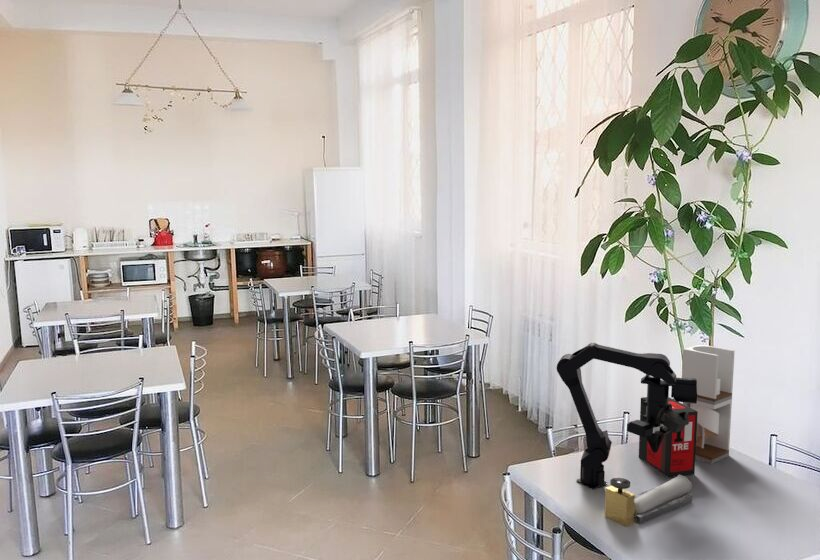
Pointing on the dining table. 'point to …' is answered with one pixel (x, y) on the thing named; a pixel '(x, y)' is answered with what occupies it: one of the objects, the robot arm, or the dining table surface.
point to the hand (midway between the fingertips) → (654, 452)
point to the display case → (711, 398)
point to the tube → (662, 494)
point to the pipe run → (623, 506)
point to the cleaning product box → (672, 445)
